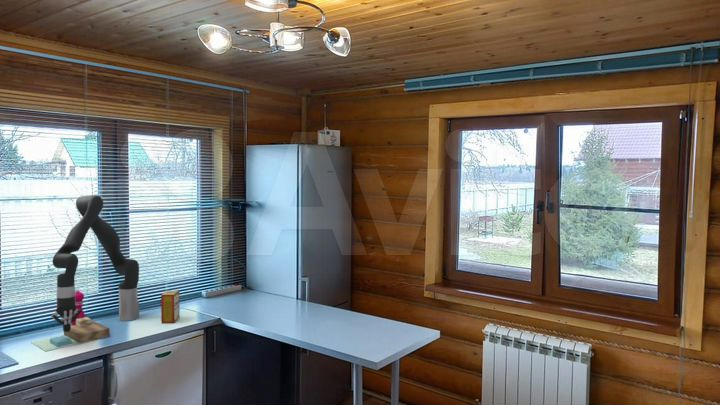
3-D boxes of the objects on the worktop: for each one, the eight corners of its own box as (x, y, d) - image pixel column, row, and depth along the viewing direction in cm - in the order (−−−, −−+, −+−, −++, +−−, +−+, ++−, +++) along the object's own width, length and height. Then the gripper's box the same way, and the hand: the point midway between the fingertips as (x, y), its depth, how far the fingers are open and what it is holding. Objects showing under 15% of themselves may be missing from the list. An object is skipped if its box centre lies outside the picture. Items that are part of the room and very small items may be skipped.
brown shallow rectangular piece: (93, 328, 252) (93, 321, 252) (109, 336, 241) (109, 328, 241) (63, 335, 242) (63, 327, 241) (79, 343, 230) (78, 335, 230)
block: (86, 322, 249) (86, 317, 249) (90, 324, 246) (90, 318, 246) (76, 325, 245) (75, 319, 245) (80, 327, 242) (80, 321, 242)
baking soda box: (173, 323, 263) (173, 294, 262) (161, 323, 263) (161, 294, 262) (179, 318, 272) (179, 290, 271) (167, 318, 272) (167, 290, 271)
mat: (63, 335, 242) (63, 334, 242) (79, 343, 230) (79, 342, 230) (31, 342, 231) (31, 342, 231) (45, 351, 219) (45, 350, 219)
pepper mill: (71, 325, 257) (70, 288, 256) (87, 324, 260) (86, 287, 259) (68, 329, 250) (67, 291, 249) (84, 328, 253) (83, 290, 252)
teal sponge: (49, 338, 230) (49, 342, 230) (57, 342, 224) (57, 347, 224) (63, 335, 235) (63, 339, 235) (71, 339, 229) (71, 343, 229)
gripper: (77, 291, 238) (78, 327, 239) (47, 296, 228) (48, 333, 229) (84, 294, 233) (85, 330, 234) (53, 299, 223) (54, 336, 224)
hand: (66, 331), depth 231 cm, fingers closed
